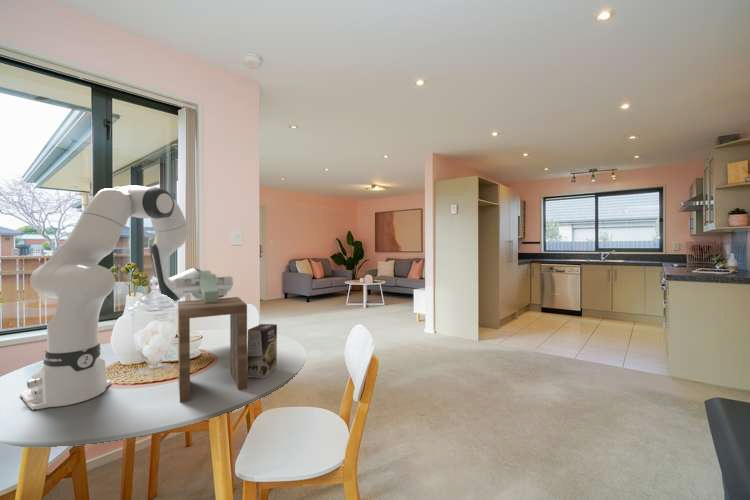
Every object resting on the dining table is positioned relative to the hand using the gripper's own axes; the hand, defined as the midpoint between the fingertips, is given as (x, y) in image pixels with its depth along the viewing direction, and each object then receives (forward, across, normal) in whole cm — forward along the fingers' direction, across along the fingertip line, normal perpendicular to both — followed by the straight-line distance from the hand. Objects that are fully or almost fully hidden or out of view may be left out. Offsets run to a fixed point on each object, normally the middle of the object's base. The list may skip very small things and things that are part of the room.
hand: (205, 276), depth 125 cm
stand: (+3, 0, +39) cm, 39 cm away
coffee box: (+1, +16, +38) cm, 41 cm away
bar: (+4, 0, +7) cm, 8 cm away
